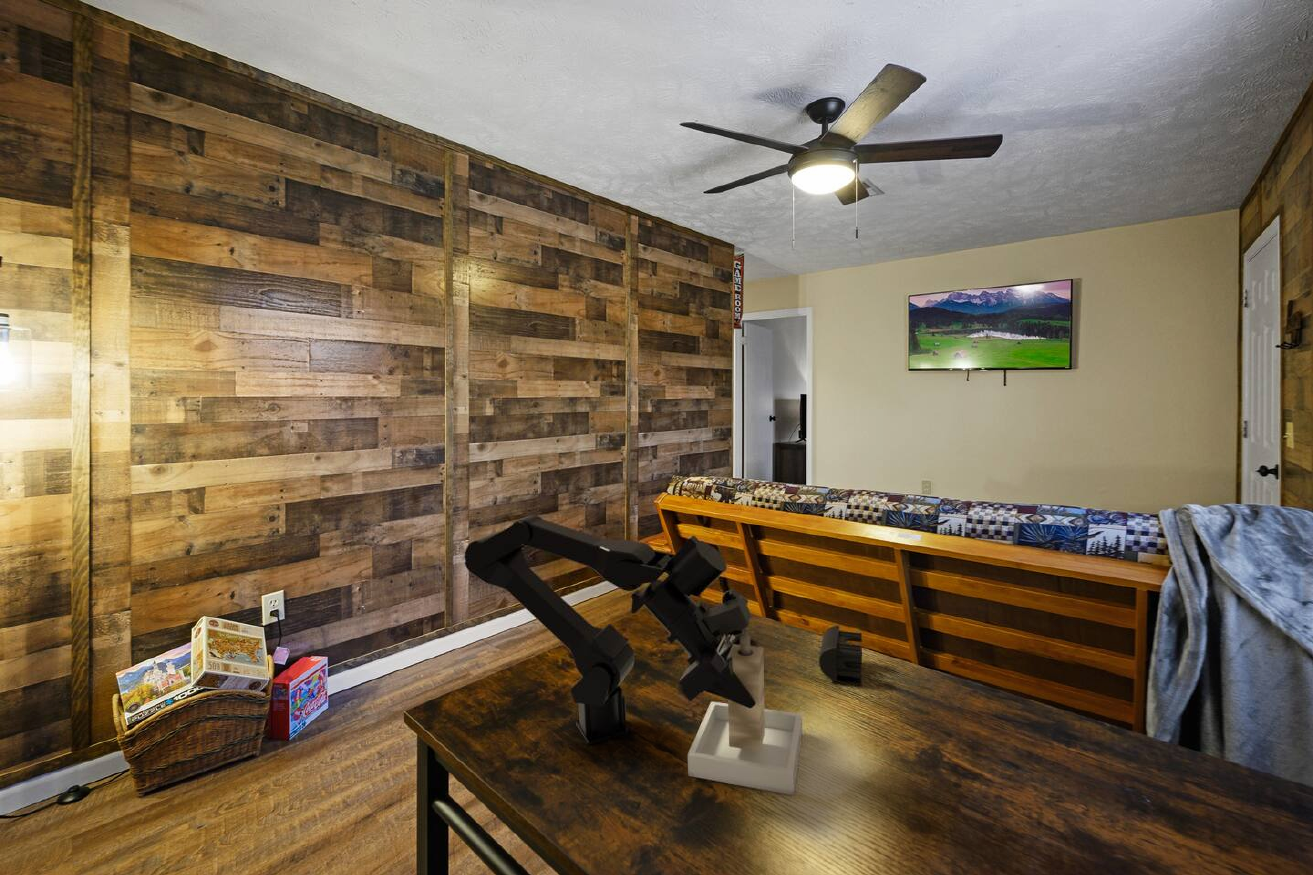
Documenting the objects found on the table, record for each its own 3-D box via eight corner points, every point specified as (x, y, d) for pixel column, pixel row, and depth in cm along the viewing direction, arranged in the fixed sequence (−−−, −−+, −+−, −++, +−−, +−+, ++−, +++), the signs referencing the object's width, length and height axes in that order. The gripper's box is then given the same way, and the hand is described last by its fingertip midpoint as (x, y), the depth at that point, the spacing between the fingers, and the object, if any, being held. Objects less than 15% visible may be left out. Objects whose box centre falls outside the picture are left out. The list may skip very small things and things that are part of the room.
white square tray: (688, 775, 78) (687, 754, 78) (711, 719, 91) (711, 701, 91) (793, 795, 73) (792, 773, 73) (802, 733, 87) (801, 714, 86)
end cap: (823, 657, 111) (822, 623, 110) (862, 662, 108) (861, 627, 108) (818, 682, 102) (818, 645, 101) (861, 688, 99) (860, 650, 99)
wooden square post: (729, 746, 81) (726, 640, 80) (735, 728, 85) (732, 627, 84) (760, 751, 79) (758, 643, 78) (765, 733, 83) (763, 630, 82)
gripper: (700, 602, 73) (789, 698, 70) (729, 560, 90) (802, 635, 88) (644, 655, 76) (727, 748, 73) (683, 604, 94) (751, 678, 91)
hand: (756, 697), depth 81 cm, fingers closed on wooden square post, 4 cm apart
